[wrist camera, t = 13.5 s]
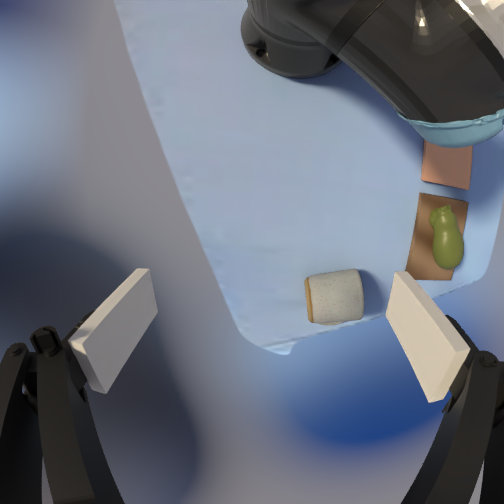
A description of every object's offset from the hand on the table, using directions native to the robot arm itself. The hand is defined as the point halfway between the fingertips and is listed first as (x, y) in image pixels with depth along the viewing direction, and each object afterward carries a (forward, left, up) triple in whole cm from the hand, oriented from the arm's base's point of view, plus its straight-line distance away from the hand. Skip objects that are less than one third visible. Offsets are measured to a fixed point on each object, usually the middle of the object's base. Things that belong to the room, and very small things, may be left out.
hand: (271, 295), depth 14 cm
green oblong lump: (+2, +27, -25) cm, 37 cm away
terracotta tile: (-12, +27, -26) cm, 40 cm away
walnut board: (+4, +27, -26) cm, 38 cm away
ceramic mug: (+14, +10, -27) cm, 32 cm away
